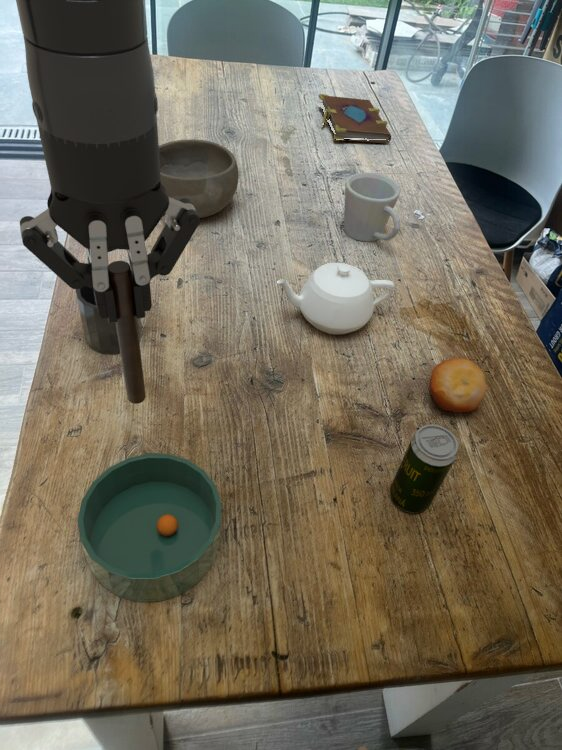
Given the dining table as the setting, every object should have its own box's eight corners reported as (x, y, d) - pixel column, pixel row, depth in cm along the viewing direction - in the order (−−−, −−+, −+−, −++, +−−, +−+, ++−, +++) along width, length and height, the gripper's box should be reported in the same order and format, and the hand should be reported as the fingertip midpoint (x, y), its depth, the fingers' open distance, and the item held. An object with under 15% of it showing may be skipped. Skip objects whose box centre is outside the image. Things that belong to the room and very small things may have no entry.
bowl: (143, 184, 120) (139, 137, 113) (228, 181, 124) (229, 135, 117) (152, 231, 109) (148, 182, 102) (244, 226, 113) (247, 179, 106)
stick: (129, 405, 57) (109, 275, 46) (125, 392, 58) (105, 262, 47) (147, 401, 58) (132, 272, 46) (143, 388, 59) (128, 258, 47)
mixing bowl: (96, 621, 61) (88, 598, 56) (78, 498, 70) (70, 471, 66) (236, 578, 65) (238, 554, 61) (201, 469, 75) (201, 441, 70)
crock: (89, 359, 86) (80, 312, 79) (81, 321, 91) (72, 275, 84) (146, 349, 88) (142, 303, 82) (136, 313, 93) (131, 267, 87)
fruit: (468, 366, 90) (491, 354, 83) (470, 417, 89) (494, 409, 81) (417, 364, 90) (436, 352, 82) (419, 415, 88) (438, 407, 80)
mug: (369, 213, 121) (380, 168, 114) (411, 253, 113) (426, 207, 105) (327, 222, 117) (335, 176, 110) (367, 264, 109) (379, 217, 101)
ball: (159, 542, 66) (158, 532, 65) (155, 524, 68) (154, 513, 66) (180, 536, 67) (179, 526, 65) (175, 518, 69) (174, 508, 67)
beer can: (417, 475, 77) (445, 418, 68) (437, 509, 74) (469, 455, 65) (381, 484, 76) (405, 428, 67) (400, 520, 72) (427, 465, 64)
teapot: (278, 345, 92) (285, 294, 84) (266, 294, 100) (271, 245, 92) (397, 338, 95) (414, 290, 88) (376, 290, 104) (389, 242, 96)
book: (364, 106, 161) (369, 88, 157) (390, 149, 145) (395, 129, 141) (308, 101, 157) (311, 82, 154) (327, 144, 141) (331, 123, 137)
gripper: (186, 83, 42) (191, 276, 54) (-21, 93, 38) (36, 300, 50) (216, 129, 37) (214, 329, 50) (-16, 147, 33) (45, 360, 46)
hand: (124, 314), depth 50 cm, fingers closed on stick, 2 cm apart
